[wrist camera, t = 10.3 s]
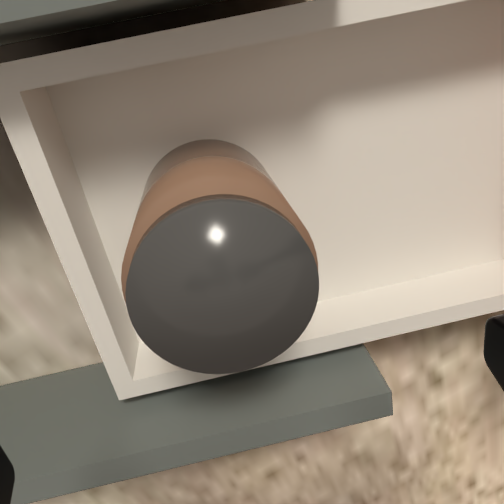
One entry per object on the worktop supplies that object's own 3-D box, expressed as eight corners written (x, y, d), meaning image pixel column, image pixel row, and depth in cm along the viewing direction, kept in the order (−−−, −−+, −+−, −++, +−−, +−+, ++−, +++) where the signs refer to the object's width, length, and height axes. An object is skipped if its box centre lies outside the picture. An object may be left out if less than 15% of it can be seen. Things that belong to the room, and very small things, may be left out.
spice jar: (297, 223, 18) (359, 317, 12) (191, 286, 19) (195, 410, 12) (231, 111, 16) (263, 151, 10) (114, 187, 17) (69, 272, 10)
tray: (568, -109, 15) (900, -247, 8) (525, 287, 23) (684, 400, 15) (-2, 2, 15) (-187, -43, 7) (140, 377, 22) (117, 541, 15)
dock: (301, -56, 15) (363, -113, 10) (343, 326, 22) (393, 414, 17) (-308, 63, 14) (-604, 72, 9) (-63, 421, 22) (-147, 546, 16)
